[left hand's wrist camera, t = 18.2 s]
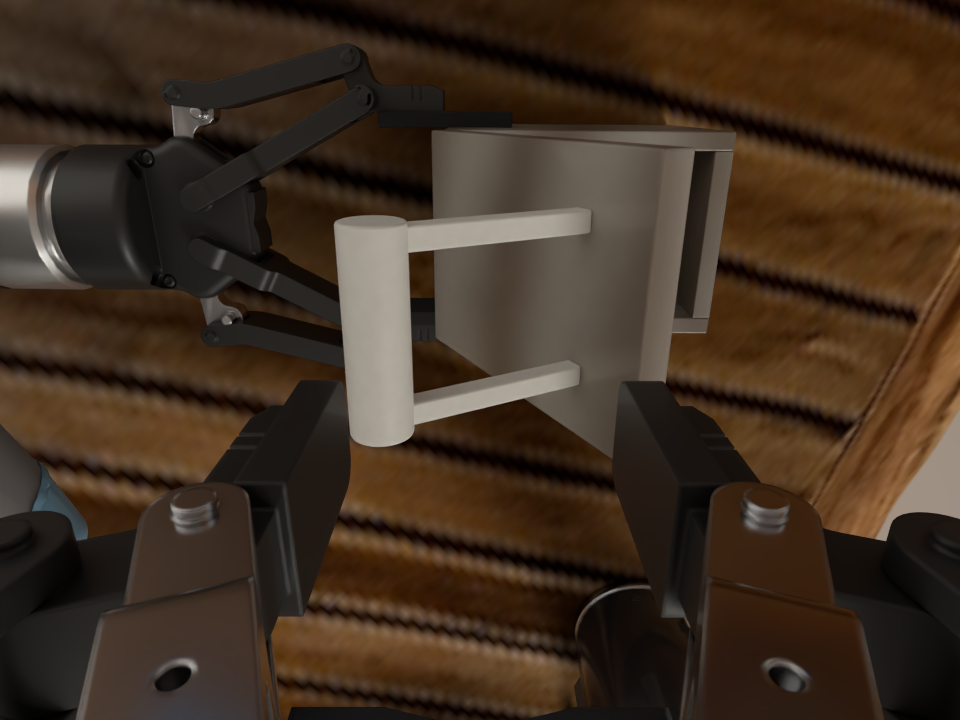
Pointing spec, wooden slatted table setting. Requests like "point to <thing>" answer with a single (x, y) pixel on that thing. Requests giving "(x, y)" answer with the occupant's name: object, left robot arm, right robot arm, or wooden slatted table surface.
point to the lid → (520, 281)
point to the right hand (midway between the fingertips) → (508, 220)
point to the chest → (702, 205)
